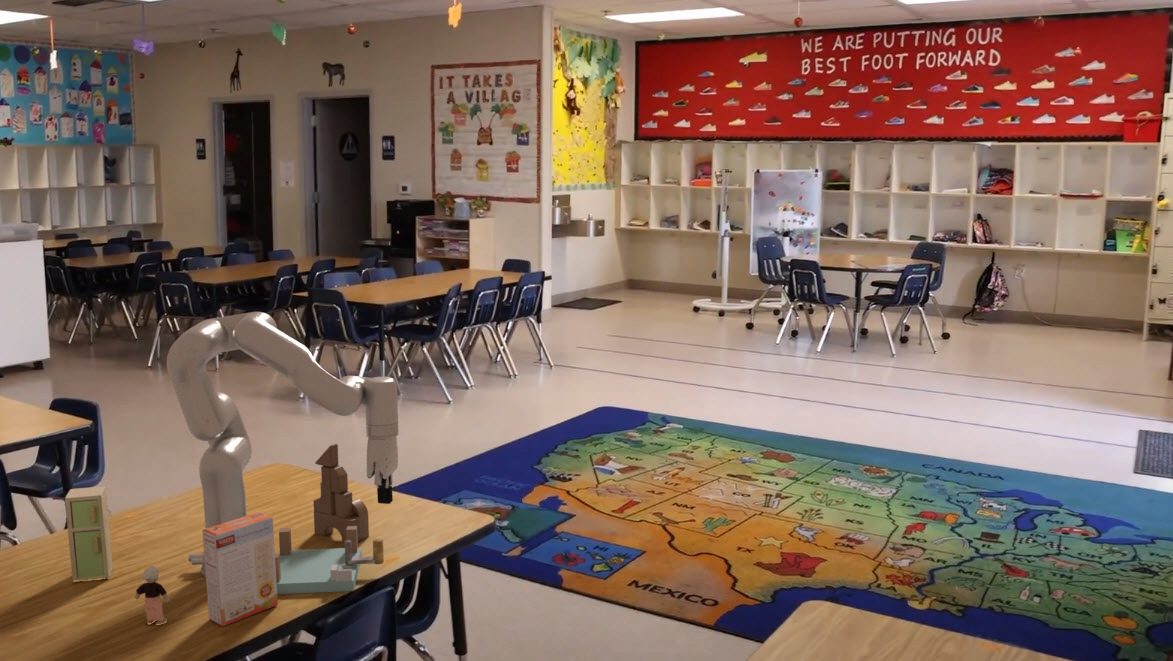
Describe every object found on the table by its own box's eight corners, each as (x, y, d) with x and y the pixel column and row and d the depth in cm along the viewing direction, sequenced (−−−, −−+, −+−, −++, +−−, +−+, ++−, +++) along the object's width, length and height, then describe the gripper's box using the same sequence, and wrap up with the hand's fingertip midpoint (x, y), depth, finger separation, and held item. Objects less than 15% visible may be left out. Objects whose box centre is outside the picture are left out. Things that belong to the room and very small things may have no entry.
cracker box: (263, 598, 240) (259, 510, 236) (278, 606, 236) (274, 516, 232) (206, 619, 229) (201, 527, 225) (222, 627, 225) (216, 534, 221)
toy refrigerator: (71, 584, 246) (63, 498, 242) (77, 572, 253) (70, 488, 249) (108, 581, 248) (101, 495, 244) (113, 569, 255) (106, 485, 251)
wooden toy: (370, 536, 277) (368, 444, 272) (352, 544, 271) (349, 450, 267) (328, 524, 285) (325, 435, 281) (309, 532, 280) (305, 441, 275)
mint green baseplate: (264, 594, 242) (262, 559, 240) (279, 560, 261) (277, 527, 260) (353, 590, 244) (352, 556, 242) (361, 557, 263) (360, 524, 262)
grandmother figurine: (175, 618, 229) (171, 563, 227) (169, 626, 226) (165, 570, 223) (139, 618, 229) (135, 563, 227) (132, 626, 225) (128, 570, 223)
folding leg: (344, 565, 251) (343, 543, 250) (345, 561, 253) (345, 539, 252) (383, 564, 252) (382, 542, 251) (383, 560, 254) (383, 538, 253)
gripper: (377, 420, 260) (380, 491, 263) (356, 437, 245) (359, 512, 248) (407, 421, 259) (409, 493, 262) (387, 438, 244) (390, 514, 247)
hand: (385, 502), depth 255 cm, fingers closed
